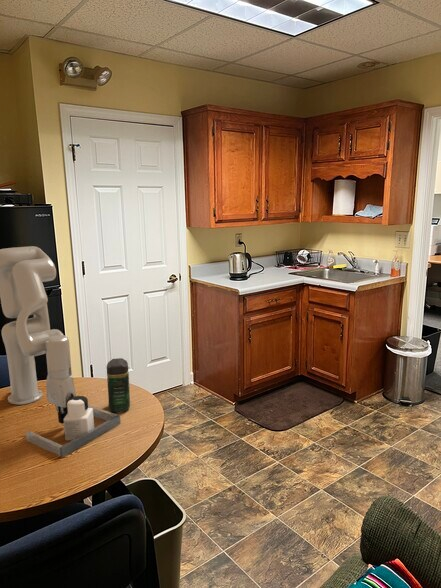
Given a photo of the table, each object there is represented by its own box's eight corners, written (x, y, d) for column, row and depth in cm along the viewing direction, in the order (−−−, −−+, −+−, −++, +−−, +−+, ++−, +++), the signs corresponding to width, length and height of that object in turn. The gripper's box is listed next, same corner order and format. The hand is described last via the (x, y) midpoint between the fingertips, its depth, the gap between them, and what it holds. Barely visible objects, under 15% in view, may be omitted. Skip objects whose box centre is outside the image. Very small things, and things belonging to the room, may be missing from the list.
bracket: (26, 440, 146) (25, 432, 146) (85, 410, 166) (84, 403, 166) (63, 457, 137) (62, 448, 136) (120, 423, 157) (120, 415, 156)
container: (72, 428, 153) (68, 393, 151) (94, 428, 154) (91, 393, 151) (65, 440, 146) (61, 404, 143) (88, 440, 146) (85, 403, 143)
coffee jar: (130, 412, 165) (127, 364, 161) (108, 414, 163) (105, 366, 159) (130, 400, 174) (127, 355, 170) (109, 402, 172) (106, 357, 168)
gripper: (36, 370, 151) (41, 420, 155) (65, 380, 143) (69, 432, 147) (54, 363, 157) (59, 411, 161) (83, 373, 149) (87, 422, 153)
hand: (64, 421), depth 154 cm, fingers closed
